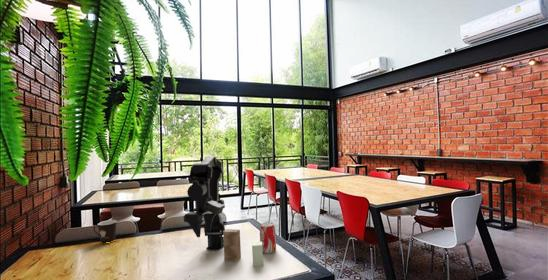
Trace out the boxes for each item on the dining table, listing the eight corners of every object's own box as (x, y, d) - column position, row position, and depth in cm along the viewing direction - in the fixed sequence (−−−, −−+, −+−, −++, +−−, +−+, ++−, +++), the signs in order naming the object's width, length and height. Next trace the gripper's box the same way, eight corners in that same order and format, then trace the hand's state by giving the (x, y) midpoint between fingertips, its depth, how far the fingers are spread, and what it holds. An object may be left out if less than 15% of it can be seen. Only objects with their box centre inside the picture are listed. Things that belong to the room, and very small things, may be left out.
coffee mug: (120, 240, 150) (120, 221, 151) (103, 245, 143) (103, 225, 143) (109, 237, 157) (108, 219, 157) (92, 242, 149) (91, 223, 150)
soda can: (274, 254, 122) (273, 226, 122) (258, 254, 124) (257, 226, 124) (277, 248, 129) (276, 222, 129) (262, 248, 131) (261, 221, 131)
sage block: (252, 266, 112) (252, 245, 112) (253, 261, 116) (252, 242, 116) (263, 265, 112) (262, 245, 112) (262, 261, 116) (262, 241, 116)
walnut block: (224, 260, 119) (223, 231, 119) (228, 257, 122) (226, 229, 122) (237, 261, 117) (236, 232, 117) (241, 258, 120) (239, 229, 120)
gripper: (208, 199, 102) (210, 243, 102) (230, 190, 120) (232, 227, 120) (181, 199, 105) (183, 241, 105) (207, 190, 123) (208, 226, 123)
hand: (203, 234), depth 113 cm, fingers open, 8 cm apart
